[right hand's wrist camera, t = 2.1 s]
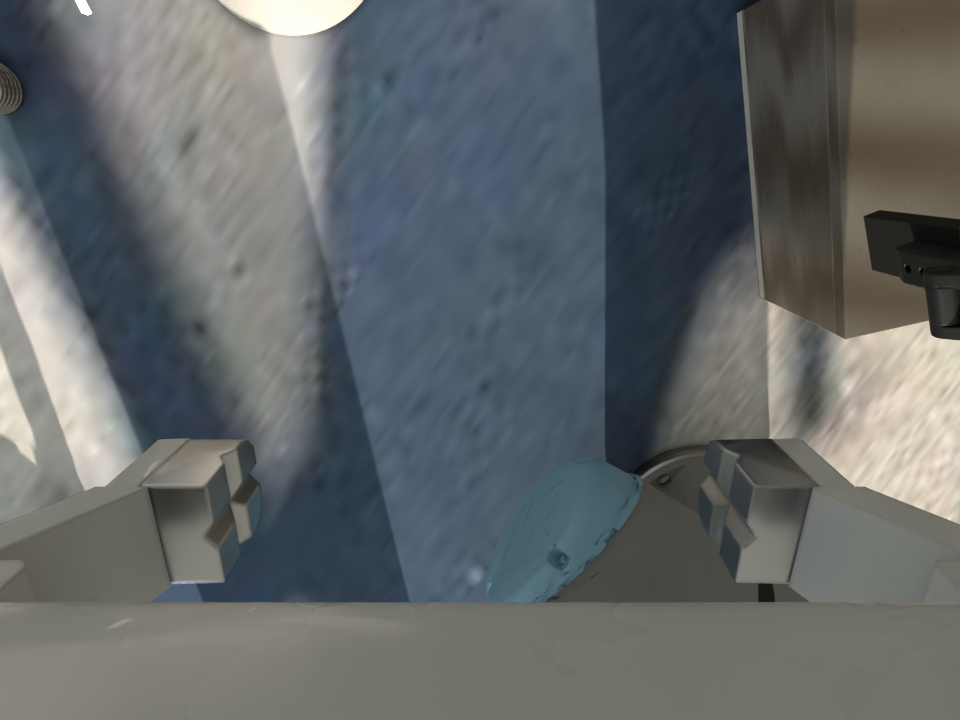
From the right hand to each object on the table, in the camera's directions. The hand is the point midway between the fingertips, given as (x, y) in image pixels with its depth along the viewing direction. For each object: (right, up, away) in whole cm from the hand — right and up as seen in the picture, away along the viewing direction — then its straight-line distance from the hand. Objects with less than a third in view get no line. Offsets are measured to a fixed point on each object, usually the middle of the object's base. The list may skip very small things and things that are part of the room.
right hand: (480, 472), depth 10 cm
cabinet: (+26, +18, +33) cm, 46 cm away
